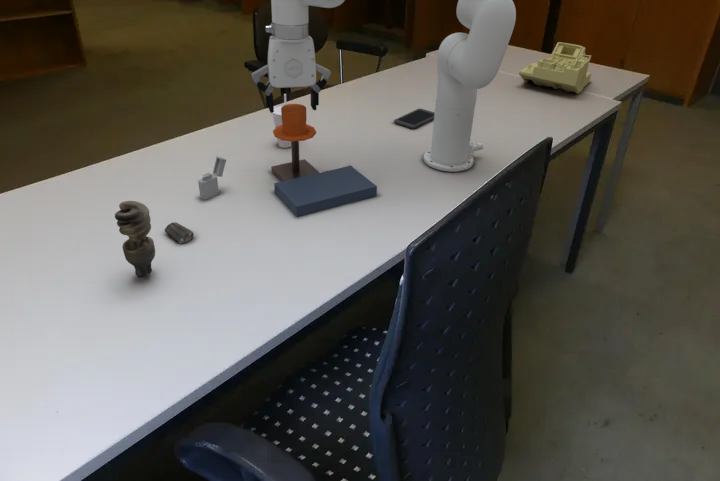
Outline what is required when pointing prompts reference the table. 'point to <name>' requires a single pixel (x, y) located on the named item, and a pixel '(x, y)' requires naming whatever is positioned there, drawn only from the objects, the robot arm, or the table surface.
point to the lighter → (211, 180)
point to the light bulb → (136, 236)
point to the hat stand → (293, 166)
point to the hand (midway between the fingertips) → (292, 109)
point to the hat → (294, 124)
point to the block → (179, 232)
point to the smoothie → (278, 121)
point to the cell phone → (415, 118)
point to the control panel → (561, 69)
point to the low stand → (324, 190)
